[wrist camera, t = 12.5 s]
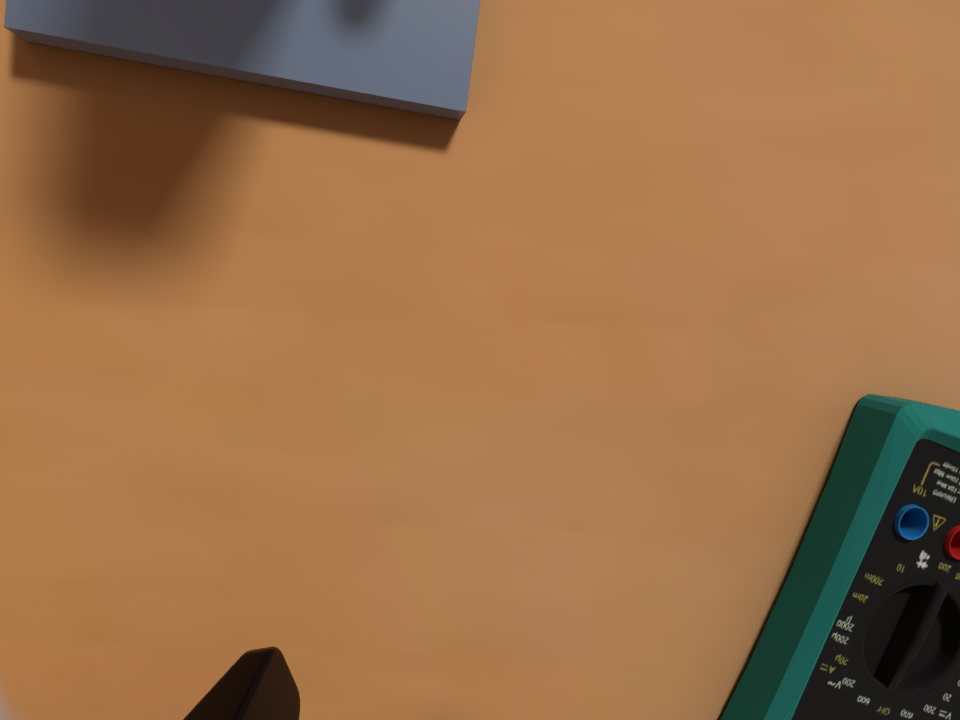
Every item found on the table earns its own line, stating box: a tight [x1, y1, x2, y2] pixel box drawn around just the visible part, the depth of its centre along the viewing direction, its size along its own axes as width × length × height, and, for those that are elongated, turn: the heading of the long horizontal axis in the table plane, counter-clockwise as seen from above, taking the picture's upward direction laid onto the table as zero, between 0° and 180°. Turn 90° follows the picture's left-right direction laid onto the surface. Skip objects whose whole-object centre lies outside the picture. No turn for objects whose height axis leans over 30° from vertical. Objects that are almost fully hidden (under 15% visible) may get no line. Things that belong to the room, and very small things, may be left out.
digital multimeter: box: [720, 394, 960, 720], centre depth 22 cm, size 7×15×3 cm, turn 157°
